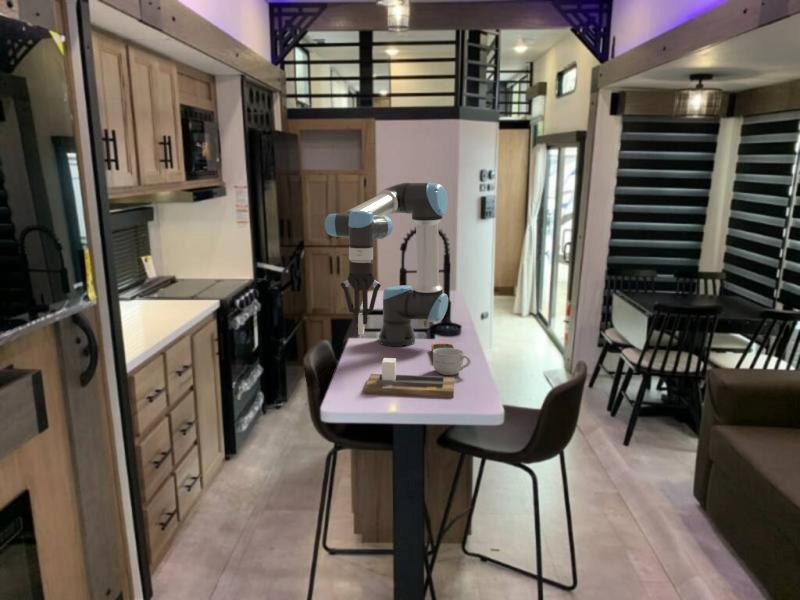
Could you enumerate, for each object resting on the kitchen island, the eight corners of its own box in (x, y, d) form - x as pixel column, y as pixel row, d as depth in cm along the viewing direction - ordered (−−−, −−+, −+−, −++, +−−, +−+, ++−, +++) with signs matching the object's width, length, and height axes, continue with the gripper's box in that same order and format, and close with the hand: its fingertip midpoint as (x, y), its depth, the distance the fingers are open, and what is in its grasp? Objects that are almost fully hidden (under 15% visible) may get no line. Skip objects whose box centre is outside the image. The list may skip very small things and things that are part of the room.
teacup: (426, 372, 206) (426, 350, 204) (446, 365, 213) (447, 344, 212) (456, 382, 196) (457, 359, 195) (476, 375, 204) (477, 352, 202)
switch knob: (383, 377, 193) (383, 357, 192) (395, 378, 193) (396, 358, 191) (382, 382, 189) (382, 362, 187) (394, 382, 188) (394, 362, 187)
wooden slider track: (370, 379, 198) (370, 370, 198) (454, 383, 196) (454, 373, 195) (364, 393, 186) (364, 383, 185) (453, 397, 183) (453, 387, 182)
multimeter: (452, 350, 233) (452, 342, 232) (458, 365, 215) (459, 356, 214) (430, 350, 232) (430, 342, 232) (435, 365, 215) (435, 356, 214)
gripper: (338, 261, 180) (338, 336, 185) (380, 263, 179) (379, 337, 184) (342, 258, 188) (343, 330, 192) (383, 259, 186) (382, 331, 191)
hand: (361, 333), depth 188 cm, fingers closed
